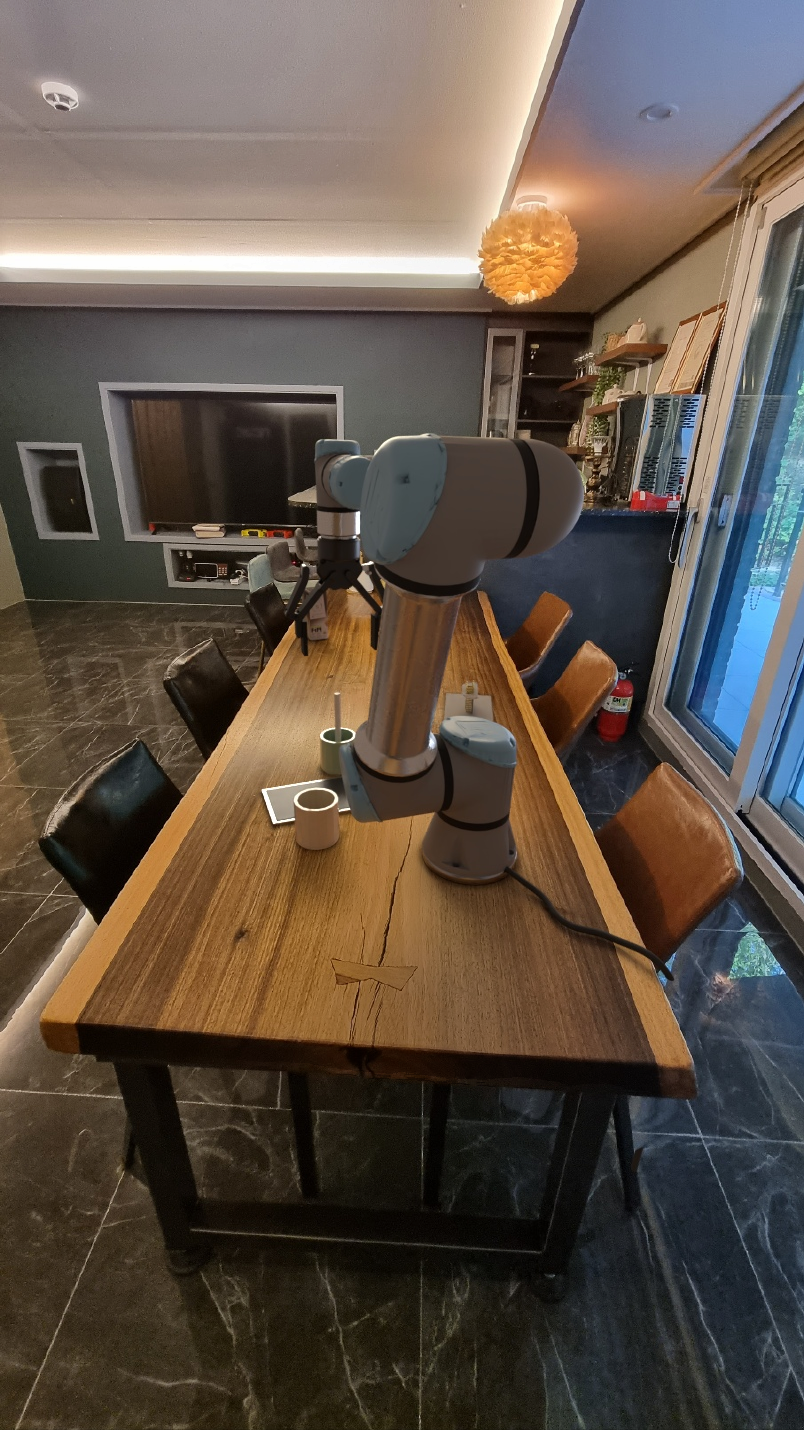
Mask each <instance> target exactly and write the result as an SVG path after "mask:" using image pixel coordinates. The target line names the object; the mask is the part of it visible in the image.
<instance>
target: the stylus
mask: <svg viewBox="0 0 804 1430" xmlns="http://www.w3.org/2000/svg"><path fill="white" fill-rule="evenodd" d="M333 697H334V698H333V699H334V700H333V701H334V728H335V742H341V728H342V709H341V708H342V704H341V699H342V698H341V693H340V692H334V693H333Z"/></svg>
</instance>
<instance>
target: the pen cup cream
mask: <svg viewBox="0 0 804 1430" xmlns="http://www.w3.org/2000/svg"><path fill="white" fill-rule="evenodd" d="M294 819H295V822H294V835H295V841H296V843H297V844H298V845H299V846H300V847H301V848H303V849H306V850H310V851H320V850H325V849H328V848H331V847H332V846H334V845H335V844H336V843H337V842H338V840H339V838H340V814H339V802H338V796H337V794H336V793H335V792H333V791H331V790H329V789H325V788H311V789H306V790H304V791H301V792H299V793H298V794H297V795H296V796H295V798H294Z"/></svg>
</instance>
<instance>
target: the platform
mask: <svg viewBox="0 0 804 1430" xmlns="http://www.w3.org/2000/svg"><path fill="white" fill-rule="evenodd" d="M453 716H472V717H478V718H483V719H486V720H489V721H492V722H494V713H493V704H492V696H491V695H485V694H479V687H478V682H475V680H472V681H471V682H466V683H462V685H461V693H449V692H446V693H445V703H444V715H443V721H444V720H446V719H447V718H449V717H453Z"/></svg>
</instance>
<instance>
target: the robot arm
mask: <svg viewBox="0 0 804 1430" xmlns="http://www.w3.org/2000/svg"><path fill="white" fill-rule="evenodd" d="M314 449H315V451H314V453H315V454H314V460H313V464H314V468H315V471H314V472H315V492H316V493H315V495H316V532H317V534H318V535H319V536H318V538H317V539H316V541H317V542H316V543H317V562H316V565H307V564H306V563H301V564H300V566H299V576H298V578H297V581H296V583H295V585H294V587H293V590H292V592H291V594H290V596H289V599H288V601H287V602H286V606H285V608H284V610H283V614H284V616H285V618H286V619H288V620H292V621H294V634H295V637H296V638H297V639H300V650H301V651H300V652H301V654H302V655H303V657H309V641H308V640H309V638H308V634H307V621H306V620H305V619H304V618H305V616H306V615H307V614H308V612H309V611H310V610H311V609H312V607H313V606H314V605H315V603H316V602H317V601H318V600H319V598H320V597H321V596H322V594H323V593H325V592H327V591H328V589H329V590H332V591H337V590H350V589H351V588H352V587H353V588H354V589H355V590H356V592H357V593H358V594H359V595H360V596H361V597H362V598H363V599H364V601H365V602H366V603H367V604H368V606H369V607H370V608H371V610H373V611H374V612H373V613H370V647H371V648H372V649H373V650H374V651H376V653H375V660H374V661H375V662H374V667H373V668H374V669H373V676H372V684H371V692H370V700H369V707H368V715H367V719H366V720H364V722H362V723H361V724H360V725H359V726H358V728H357V729H356V731H355V733H356V734H355V737H354V743H351V742H349V743H347V744H345V745H342V746H340V748H339V761H340V768H341V774H342V775H341V777H342V779H343V784H344V789H345V793H346V797H347V801H348V804H349V808H350V811H351V812H350V814H351V815H352V817H353V818H354V820H355V821H356V822H358V823H361V824H365V823H366V824H367V823H373V822H374V823H376V822H378V823H383V822H385V821H392V820H397V819H405V818H409V817H414V816H420V815H421V816H422V815H428V814H433V815H432V818H431V820H430V822H429V825H428V827H427V830H426V831H425V833H424V835H423V840H422V845H421V846H422V848H421V856H422V859H423V861H424V863H425V865H426V866H427V867H428V868H429V870H431V871H432V872H433V873H435V874H436V875H437V876H439V877H441V878H443V879H445V880H447V881H451V882H453V883H458V884H462V885H471V886H475V885H476V886H478V885H489V884H492V883H496V882H498V881H501V880H503V879H505V878H506V877H507V876H510V877H511V878H512V879H514V880H515V881H517V882H518V883H519V884H520V885H522V886H523V887H524V888H526V889H527V890H528V891H530V892H531V893H532V894H534V895H535V896H536V897H538V898H539V899H540V900H541V901H542V903H543V904H544V905H545V907H546V908H547V910H548V912H549V913H550V915H551V916H552V917H553V918H554V920H555V921H556V922H558V923H559V924H561V925H562V926H563V927H565V928H567V929H569V930H571V931H574V932H577V933H582V934H585V935H589V936H595V937H598V938H601V939H604V940H607V941H609V942H611V943H613V944H616V945H618V946H621V947H622V948H623V947H624V948H626V949H629V950H631V951H633V952H636V953H638V954H639V955H642V957H645V958H646V959H648V960H649V961H651V962H652V963H653V964H654V965H655V966H656V967H657V968H658V970H660V972H661V973H662V975H663V976H664V978H665V979H666V980H668V981H669V982H674V981H675V977H674V975H673V974H672V972H671V970H670V969H669V967H668V966H667V965H666V964H665V962H664V961H662V960H661V958H660V957H658V956H657V955H656V954H655V953H653V952H652V951H651V950H649V949H648V948H645V947H644V946H642V945H639V944H637V943H635V942H633V941H630V940H627V939H625V938H622V937H619V936H617V935H615V934H612V933H610V932H607V931H605V930H602V929H599V928H595V927H590V926H585V925H581V924H577V923H575V922H572V921H571V920H568V919H566V918H565V917H563V916H562V914H560V913H559V911H557V909H556V908H555V906H554V904H553V903H552V902H551V900H550V898H548V896H547V895H546V894H545V893H544V892H543V891H541V889H539V888H538V887H537V886H535V885H534V884H533V883H531V882H530V881H528V880H527V879H526V878H524V877H523V876H521V874H519V873H518V872H517V871H515V870H514V868H515V867H516V864H517V853H518V851H517V850H518V849H517V843H516V838H515V836H514V832H513V827H512V824H511V819H510V815H511V805H512V799H513V797H512V796H513V789H514V779H515V772H516V767H517V765H518V761H517V754H518V753H517V750H518V749H517V746H518V745H517V744H518V743H517V740H516V738H515V736H514V735H513V733H512V732H511V731H510V730H509V729H508V728H506V727H505V726H503V725H502V724H499V723H497V722H495V721H493V722H492V721H489V720H486V719H483V718H478V717H472V716H453V717H449V718H447V719H446V720H444V719H443V720H442V722H441V723H440V724H439V725H440V726H439V727H438V733H433V732H432V728H433V723H434V718H435V715H436V710H437V705H438V701H439V697H440V693H441V689H442V684H443V680H444V677H445V671H446V668H447V663H448V657H449V656H450V655H449V654H450V650H451V645H452V641H453V637H454V632H455V629H456V624H457V619H458V616H459V611H460V606H461V602H462V598H463V597H464V596H467V595H468V594H470V593H472V592H474V590H476V589H477V588H478V585H479V584H480V582H481V579H482V575H483V570H484V567H485V563H486V562H487V561H488V560H491V561H492V560H509V559H510V560H511V559H525V558H528V557H533V556H536V555H540V554H541V553H544V552H546V551H549V550H550V549H552V548H554V547H555V546H557V545H558V544H559V543H560V542H561V541H563V540H564V539H565V538H566V537H567V536H568V535H569V533H571V531H572V530H573V529H574V527H575V526H576V524H577V523H578V520H579V518H580V515H581V513H582V510H583V505H584V501H585V487H584V483H583V479H582V475H581V472H580V470H579V468H578V467H577V466H578V465H576V463H575V462H574V460H573V459H572V458H571V457H570V456H569V455H568V454H567V453H566V452H565V451H563V450H562V449H560V448H559V447H557V446H555V445H553V444H551V443H548V442H545V441H542V440H538V439H533V438H523V437H514V438H506V437H488V436H487V437H485V436H484V437H483V436H460V435H459V436H457V435H438V434H436V433H433V432H432V433H429V432H428V433H422V434H420V435H399V436H392V437H391V438H389V439H386V440H385V441H384V442H383V443H382V444H381V445H380V446H379V448H377V450H376V451H375V452H374V454H373V455H365V454H364V455H363V454H361V446H360V444H359V442H358V441H357V440H352V439H351V440H349V439H319V440H317V441H316V443H315V447H314ZM359 535H360V536H359ZM361 546H362V549H363V552H364V554H365V556H366V557H367V559H368V560H369V561H368V562H367V563H361ZM363 572H364V574H365V575H366V576H368V577H369V579H370V581H371V584H372V585H373V588H374V590H375V592H376V594H377V596H378V598H379V601H380V603H381V605H380V604H379V603H378V602H377V601H376V600H375V598H374V597H373V596H372V595H371V594H370V593H369V592H368V590H367V589H366V588H365V587H364V585H363V584H362V583H361V582H360V581H359V578H360V576H361V574H362V573H363ZM314 574H316V575H317V576H318V577H319V579H318V581H317V582H316V583H315V585H314V586H313V587H314V589H313V590H312V591H311V592H310V594H309V595H308V596H307V598H306V599H305V600H304V601H303V603H302V602H301V604H300V601H301V600H302V595H303V593H304V590H305V588H307V587H308V583H309V580H310V579H311V578H313V576H314ZM381 580H382V581H383V582H384V585H383V582H382V581H381ZM299 604H300V605H299ZM644 1148H645V1146H641V1147H639V1148H636V1149H635V1150H634V1152H633V1157H632V1161H631V1165H630V1171H632V1172H633V1173H637V1172H638V1169H639V1165H640V1162H641V1157H642V1155H643V1151H644Z"/></svg>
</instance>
